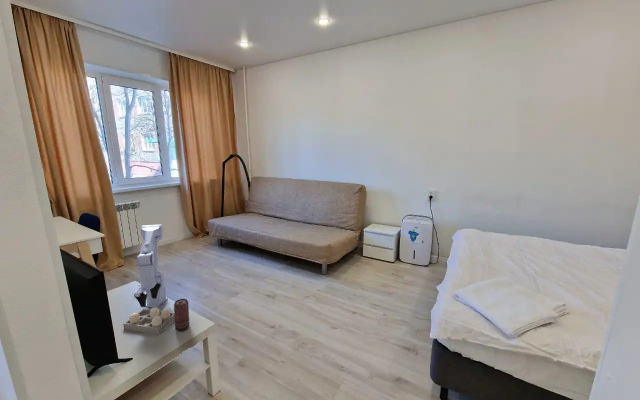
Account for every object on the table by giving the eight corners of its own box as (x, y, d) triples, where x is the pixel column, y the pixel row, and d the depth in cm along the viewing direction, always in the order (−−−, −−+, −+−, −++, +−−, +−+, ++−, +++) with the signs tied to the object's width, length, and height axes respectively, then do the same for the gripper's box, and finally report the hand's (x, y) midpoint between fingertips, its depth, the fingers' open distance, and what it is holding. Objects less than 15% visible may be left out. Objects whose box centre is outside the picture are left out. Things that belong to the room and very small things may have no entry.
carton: (143, 313, 139) (143, 308, 139) (176, 318, 137) (175, 312, 137) (123, 329, 127) (123, 323, 127) (158, 334, 125) (158, 328, 125)
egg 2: (153, 315, 137) (152, 305, 136) (161, 315, 137) (160, 305, 136) (148, 320, 133) (147, 310, 132) (157, 320, 133) (156, 310, 132)
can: (184, 333, 127) (182, 306, 124) (172, 330, 128) (170, 304, 125) (192, 325, 132) (191, 299, 130) (181, 323, 134) (179, 297, 131)
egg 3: (156, 323, 131) (155, 313, 130) (164, 324, 130) (163, 314, 129) (150, 329, 127) (149, 318, 126) (158, 330, 126) (157, 319, 125)
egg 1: (134, 320, 132) (133, 310, 131) (142, 321, 132) (141, 311, 131) (128, 325, 128) (127, 315, 127) (135, 327, 128) (134, 316, 127)
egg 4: (165, 316, 136) (164, 306, 135) (172, 317, 136) (171, 307, 135) (159, 321, 133) (158, 311, 132) (166, 322, 132) (166, 312, 131)
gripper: (150, 269, 139) (151, 293, 141) (127, 283, 125) (129, 309, 127) (162, 271, 138) (164, 295, 141) (141, 284, 124) (143, 311, 126)
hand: (148, 302), depth 134 cm, fingers open, 7 cm apart
